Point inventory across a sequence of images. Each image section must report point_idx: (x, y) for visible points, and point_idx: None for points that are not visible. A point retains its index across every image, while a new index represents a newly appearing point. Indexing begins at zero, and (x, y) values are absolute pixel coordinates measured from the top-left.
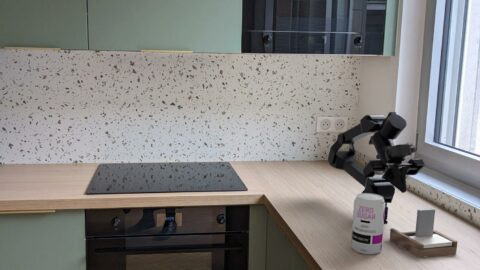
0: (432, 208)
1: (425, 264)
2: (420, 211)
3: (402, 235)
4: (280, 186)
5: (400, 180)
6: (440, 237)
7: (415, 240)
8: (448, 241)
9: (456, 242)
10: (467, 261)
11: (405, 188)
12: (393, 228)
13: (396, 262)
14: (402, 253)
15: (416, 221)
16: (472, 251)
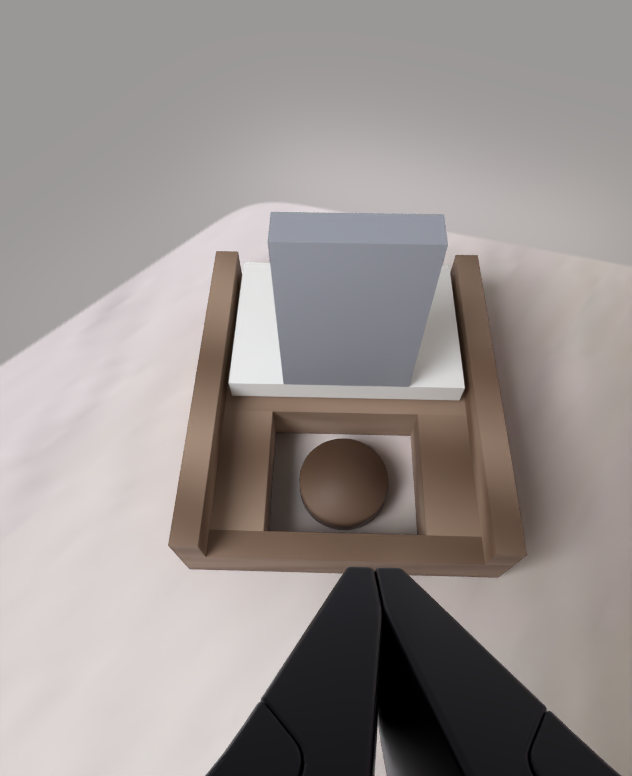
0: (274, 235)
1: (476, 246)
2: (438, 221)
3: (502, 406)
4: None
5: (465, 707)
6: (254, 328)
7: (466, 312)
8: (260, 271)
9: (222, 256)
10: (252, 229)
11: (351, 587)
12: (500, 548)
13: (612, 289)
14: (523, 368)
15: (427, 319)
16: (113, 304)
